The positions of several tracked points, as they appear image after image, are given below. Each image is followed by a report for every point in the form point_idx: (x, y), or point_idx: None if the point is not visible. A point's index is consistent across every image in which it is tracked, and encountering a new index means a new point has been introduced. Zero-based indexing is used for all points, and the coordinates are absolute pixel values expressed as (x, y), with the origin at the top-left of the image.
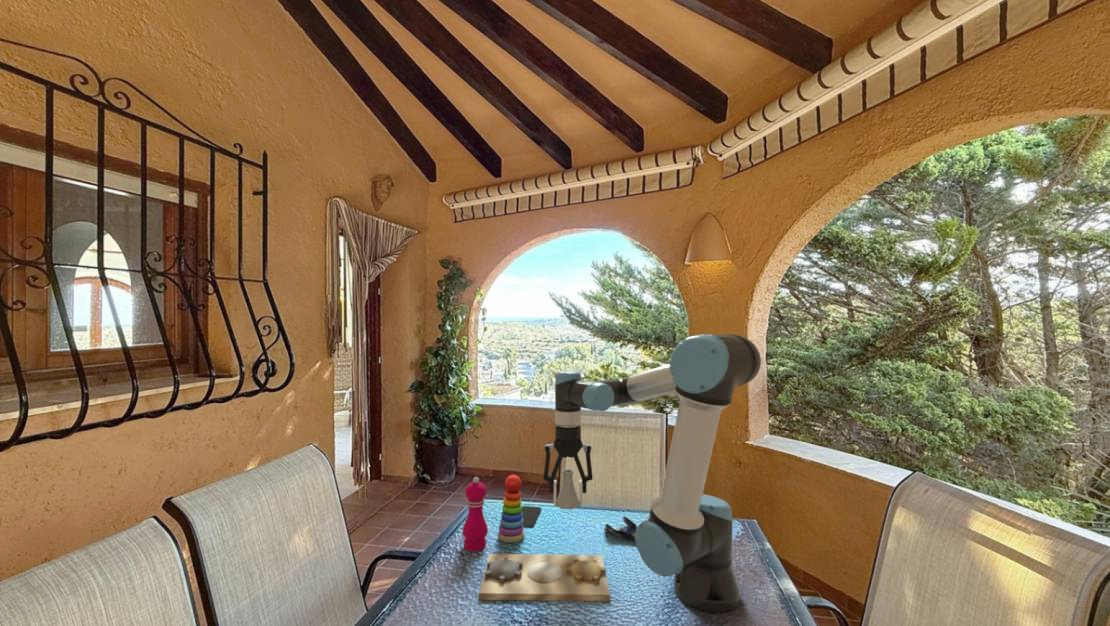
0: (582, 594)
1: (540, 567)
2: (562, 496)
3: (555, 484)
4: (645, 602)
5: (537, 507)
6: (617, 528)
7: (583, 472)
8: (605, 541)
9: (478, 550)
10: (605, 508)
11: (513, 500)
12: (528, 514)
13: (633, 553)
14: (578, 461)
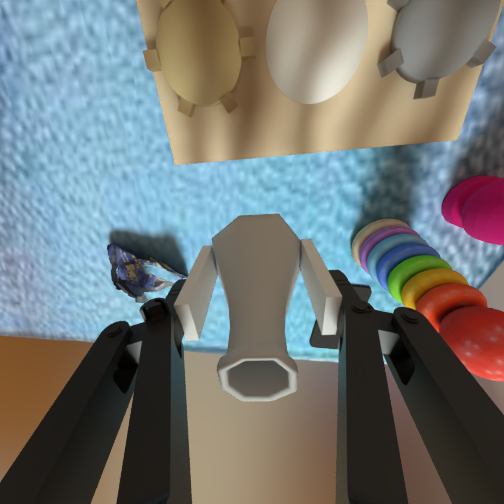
0: None
1: (327, 68)
2: (281, 252)
3: (328, 291)
4: None
5: (317, 346)
6: (164, 288)
7: (140, 363)
8: (182, 244)
9: (464, 180)
10: (197, 350)
11: (442, 284)
12: None
13: (118, 202)
14: (133, 486)
